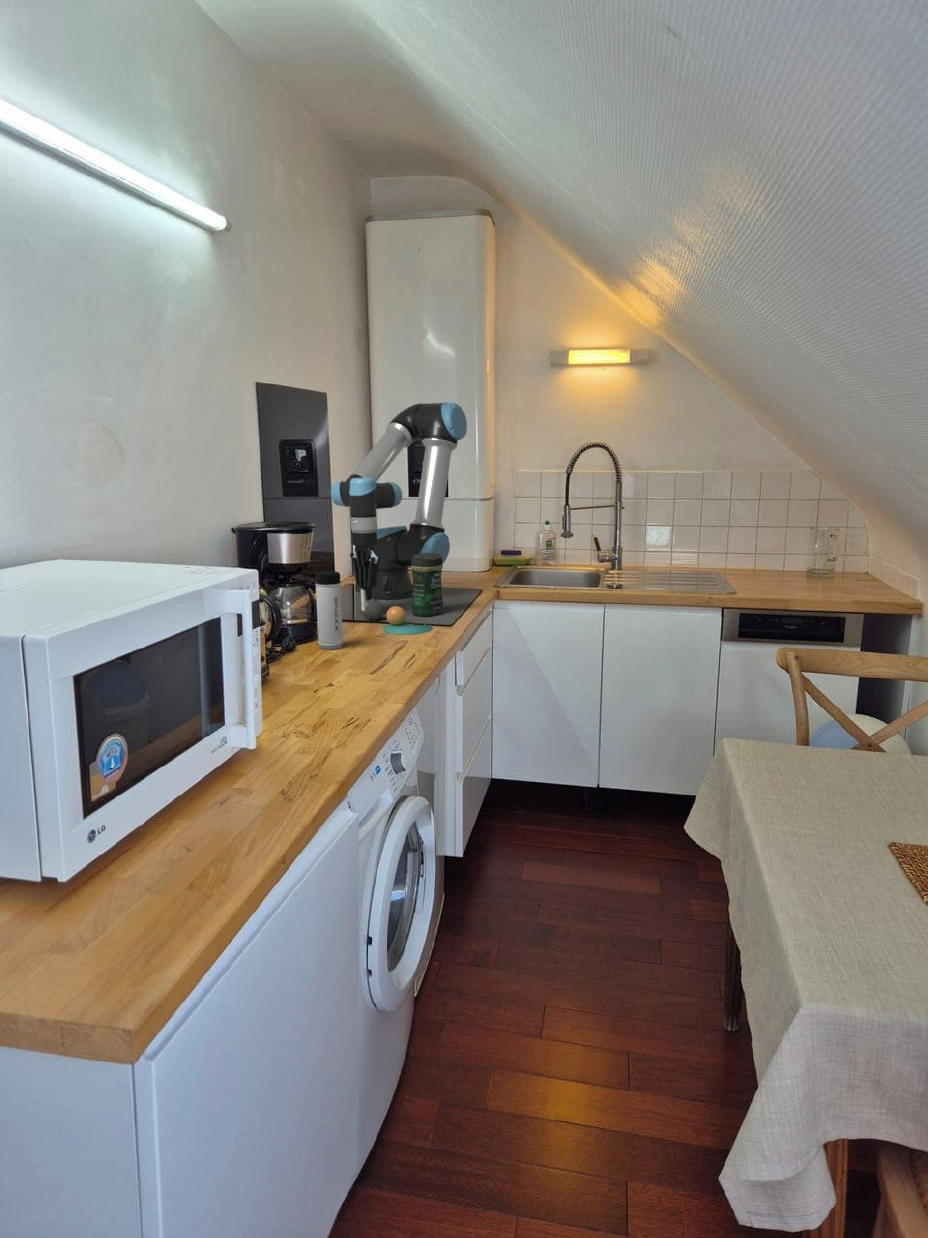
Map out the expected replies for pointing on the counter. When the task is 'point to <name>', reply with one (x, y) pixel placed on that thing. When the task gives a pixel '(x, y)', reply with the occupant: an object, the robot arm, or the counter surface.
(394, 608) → the orange ball
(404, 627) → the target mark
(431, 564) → the coffee jar
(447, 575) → the counter surface
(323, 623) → the travel mug
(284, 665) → the counter surface
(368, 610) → the dark gray ball
